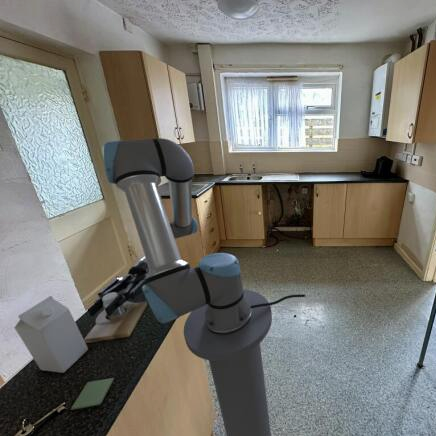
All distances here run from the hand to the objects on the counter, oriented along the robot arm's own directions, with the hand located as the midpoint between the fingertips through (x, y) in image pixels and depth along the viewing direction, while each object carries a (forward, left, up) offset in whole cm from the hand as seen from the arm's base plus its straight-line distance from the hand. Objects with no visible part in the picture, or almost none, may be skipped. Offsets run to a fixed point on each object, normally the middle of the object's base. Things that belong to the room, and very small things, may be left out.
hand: (98, 312), depth 72 cm
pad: (-8, +21, -7) cm, 24 cm away
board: (-2, -3, -7) cm, 8 cm away
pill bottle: (-1, -5, -7) cm, 9 cm away
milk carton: (+5, +10, -7) cm, 13 cm away
